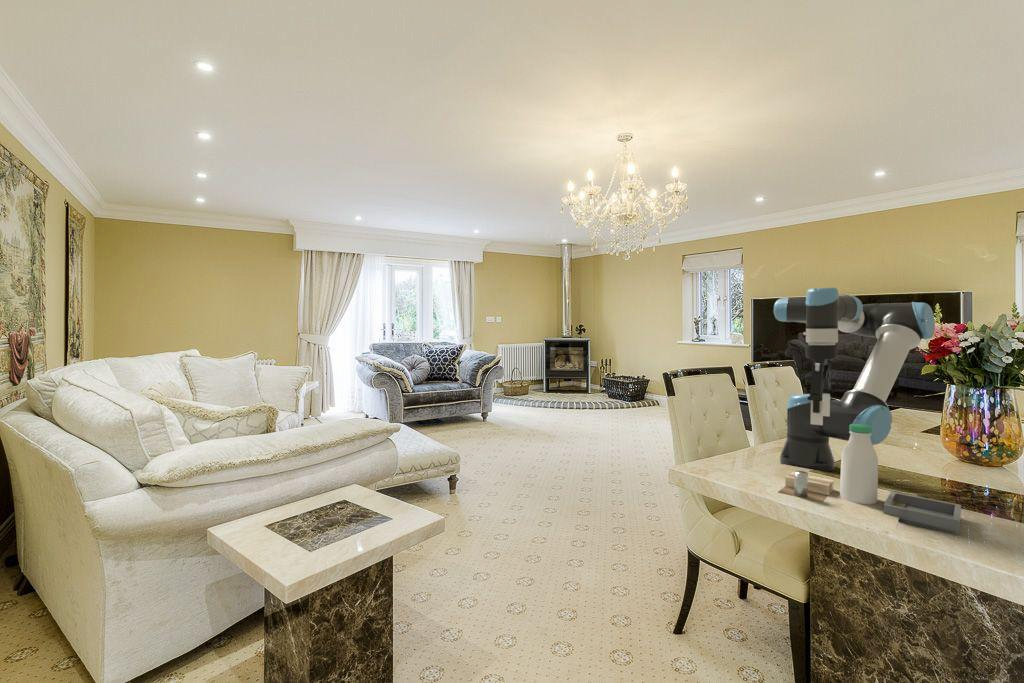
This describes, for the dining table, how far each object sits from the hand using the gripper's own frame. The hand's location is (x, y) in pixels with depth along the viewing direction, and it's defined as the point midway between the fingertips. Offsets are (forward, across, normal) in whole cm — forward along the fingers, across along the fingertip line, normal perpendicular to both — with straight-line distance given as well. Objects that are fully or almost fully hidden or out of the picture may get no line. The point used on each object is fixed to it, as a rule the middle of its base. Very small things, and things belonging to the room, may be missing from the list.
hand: (820, 420), depth 135 cm
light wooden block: (+17, +8, -2) cm, 19 cm away
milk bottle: (+19, +9, +10) cm, 23 cm away
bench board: (+18, +11, -2) cm, 21 cm away
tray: (+19, +11, +22) cm, 31 cm away
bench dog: (+17, +16, -2) cm, 23 cm away
